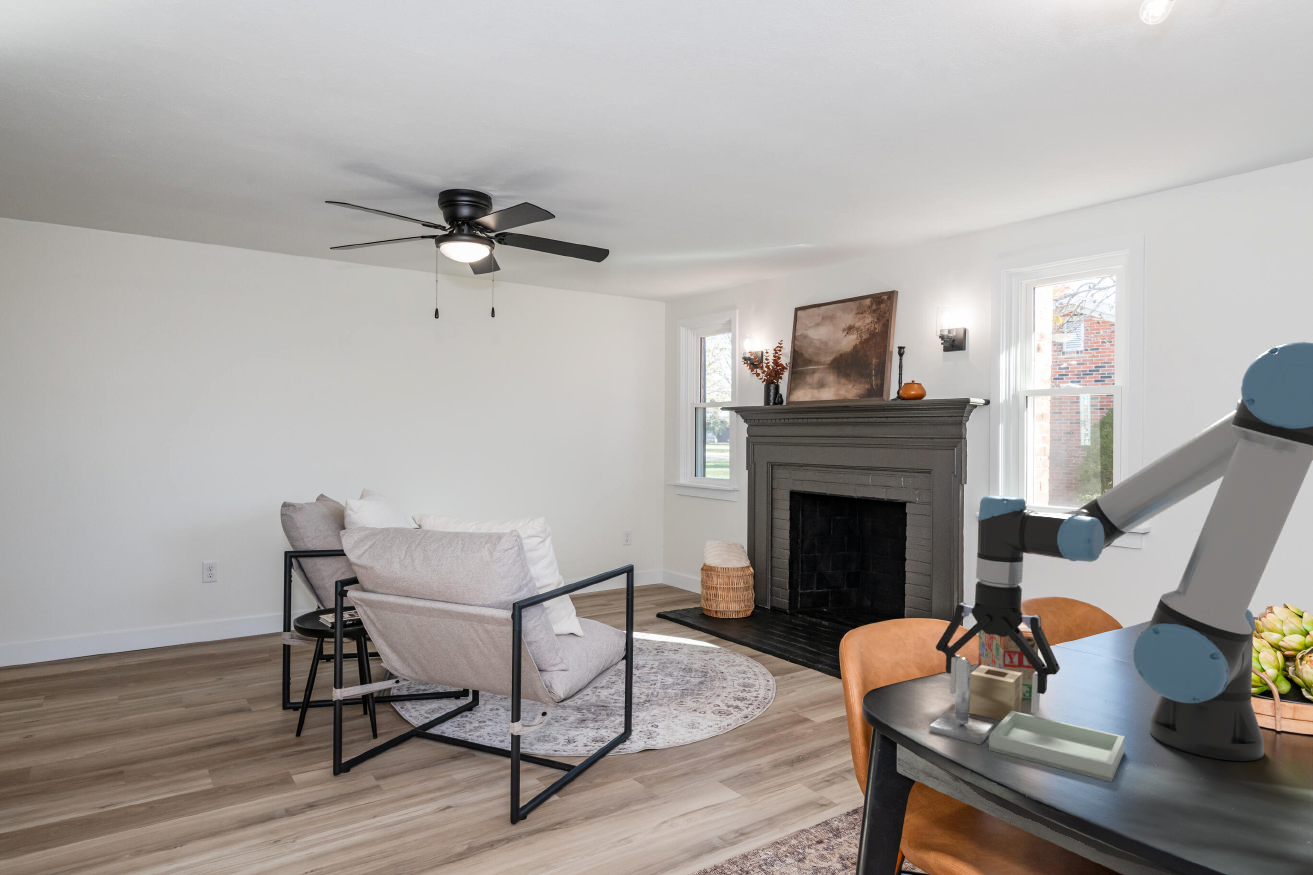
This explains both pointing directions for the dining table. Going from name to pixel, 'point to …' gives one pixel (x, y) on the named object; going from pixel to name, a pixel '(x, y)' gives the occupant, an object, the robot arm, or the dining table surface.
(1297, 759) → the dining table surface
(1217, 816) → the dining table surface
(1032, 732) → the tray
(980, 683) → the oak block
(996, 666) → the stack of blocks
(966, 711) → the post
